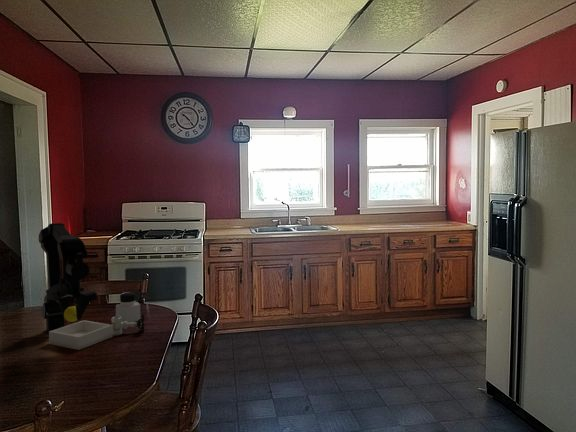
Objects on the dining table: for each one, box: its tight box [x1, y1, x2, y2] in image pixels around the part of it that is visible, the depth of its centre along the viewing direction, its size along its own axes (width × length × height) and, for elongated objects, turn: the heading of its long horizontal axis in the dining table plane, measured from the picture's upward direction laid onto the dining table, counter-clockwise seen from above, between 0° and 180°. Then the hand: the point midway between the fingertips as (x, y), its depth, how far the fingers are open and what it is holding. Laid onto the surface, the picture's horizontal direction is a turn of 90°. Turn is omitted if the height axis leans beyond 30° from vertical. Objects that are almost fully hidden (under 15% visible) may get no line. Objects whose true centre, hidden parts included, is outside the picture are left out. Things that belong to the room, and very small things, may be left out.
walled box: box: [48, 319, 114, 351], centre depth 160 cm, size 15×15×4 cm
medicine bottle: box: [115, 291, 141, 323], centre depth 184 cm, size 7×7×12 cm
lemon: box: [64, 305, 78, 323], centre depth 152 cm, size 7×5×5 cm
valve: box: [110, 314, 145, 336], centre depth 169 cm, size 7×7×12 cm
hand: (72, 318), depth 152 cm, fingers closed on lemon, 6 cm apart
